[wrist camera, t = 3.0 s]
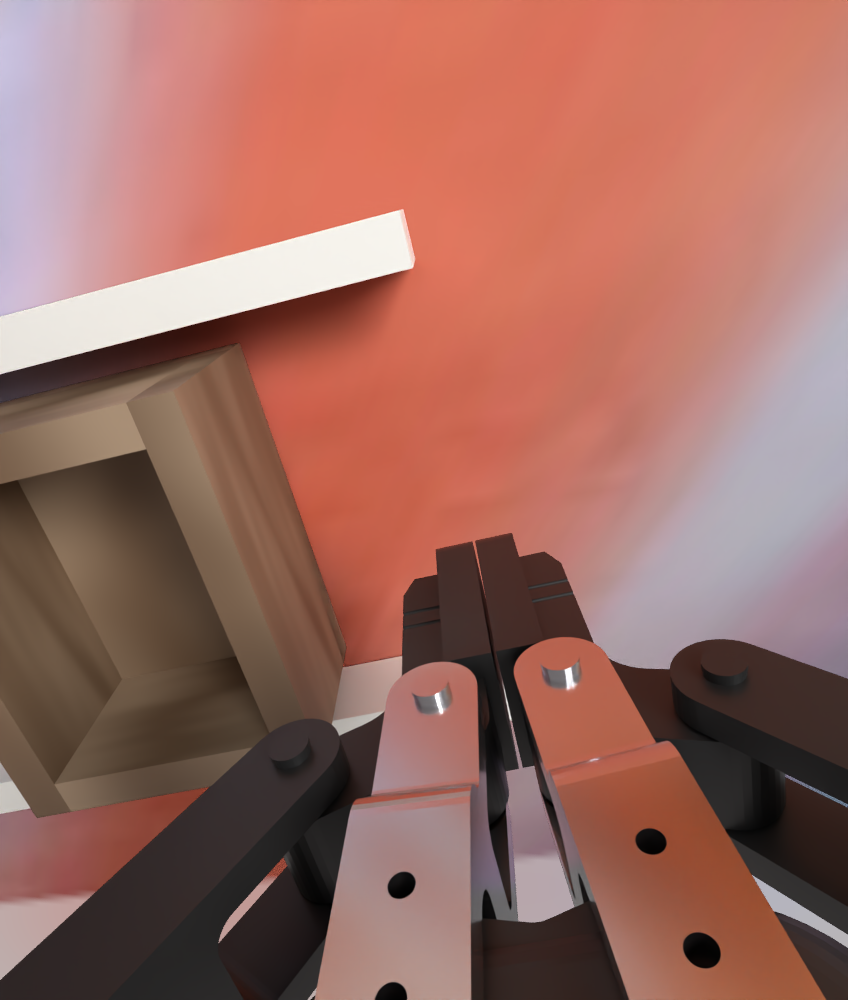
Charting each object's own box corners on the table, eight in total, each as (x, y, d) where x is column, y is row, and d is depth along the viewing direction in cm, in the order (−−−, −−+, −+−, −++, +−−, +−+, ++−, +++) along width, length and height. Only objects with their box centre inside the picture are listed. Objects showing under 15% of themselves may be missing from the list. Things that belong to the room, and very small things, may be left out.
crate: (239, 342, 18) (173, 390, 13) (346, 646, 22) (324, 766, 17) (-34, 411, 19) (-186, 479, 14) (117, 692, 22) (36, 817, 18)
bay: (403, 209, 17) (390, 212, 11) (510, 665, 22) (537, 817, 17) (-326, 403, 19) (-640, 486, 13) (-62, 774, 24) (-205, 942, 19)
